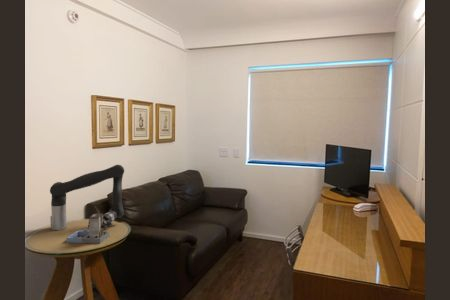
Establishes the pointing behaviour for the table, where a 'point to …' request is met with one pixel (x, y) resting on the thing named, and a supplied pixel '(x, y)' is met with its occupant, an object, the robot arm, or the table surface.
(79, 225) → the table surface
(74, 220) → the table surface
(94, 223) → the coffee box
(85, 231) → the divided tray
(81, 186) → the robot arm
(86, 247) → the table surface
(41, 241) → the table surface
